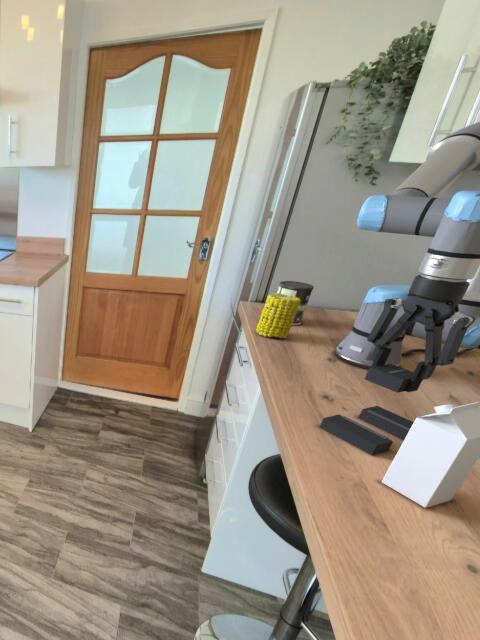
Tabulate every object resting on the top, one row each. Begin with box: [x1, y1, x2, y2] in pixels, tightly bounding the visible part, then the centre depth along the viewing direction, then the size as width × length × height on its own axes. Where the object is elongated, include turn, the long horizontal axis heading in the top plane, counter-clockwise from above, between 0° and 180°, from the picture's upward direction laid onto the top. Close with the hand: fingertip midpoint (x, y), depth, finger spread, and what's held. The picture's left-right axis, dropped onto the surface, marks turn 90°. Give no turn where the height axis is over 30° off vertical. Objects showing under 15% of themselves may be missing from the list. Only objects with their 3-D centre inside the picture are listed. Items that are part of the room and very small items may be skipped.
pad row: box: [319, 405, 414, 456], centre depth 96 cm, size 18×11×3 cm, turn 107°
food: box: [255, 292, 301, 339], centre depth 147 cm, size 15×12×10 cm
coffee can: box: [276, 280, 315, 326], centre depth 159 cm, size 10×10×14 cm
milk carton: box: [381, 401, 480, 509], centre depth 76 cm, size 7×7×19 cm
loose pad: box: [364, 364, 423, 393], centre depth 92 cm, size 6×6×3 cm
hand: (391, 382), depth 92 cm, fingers closed on loose pad, 6 cm apart
